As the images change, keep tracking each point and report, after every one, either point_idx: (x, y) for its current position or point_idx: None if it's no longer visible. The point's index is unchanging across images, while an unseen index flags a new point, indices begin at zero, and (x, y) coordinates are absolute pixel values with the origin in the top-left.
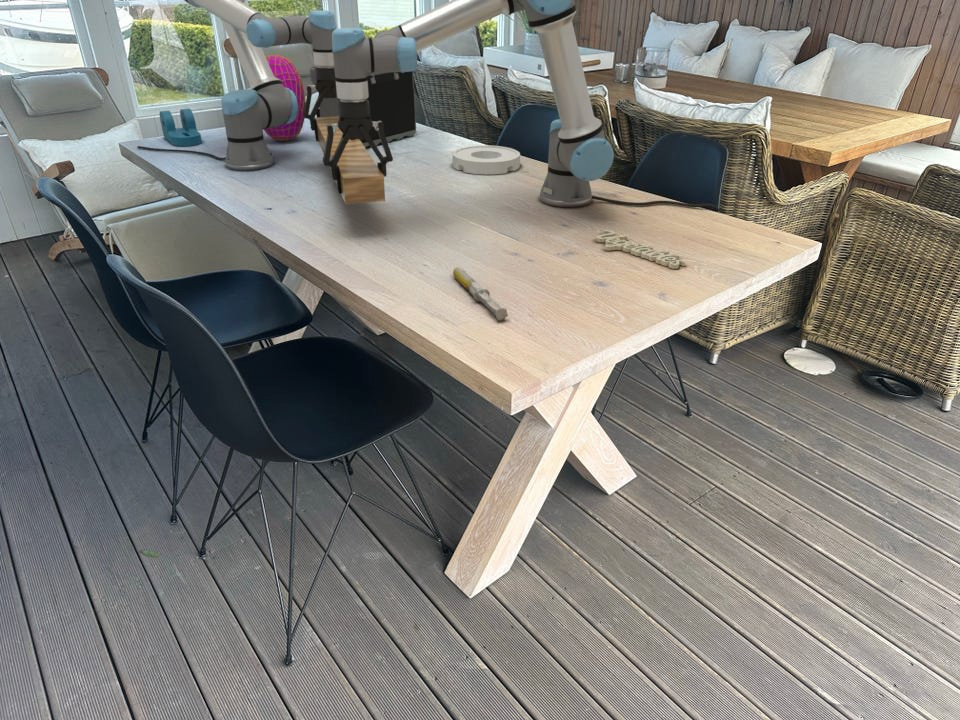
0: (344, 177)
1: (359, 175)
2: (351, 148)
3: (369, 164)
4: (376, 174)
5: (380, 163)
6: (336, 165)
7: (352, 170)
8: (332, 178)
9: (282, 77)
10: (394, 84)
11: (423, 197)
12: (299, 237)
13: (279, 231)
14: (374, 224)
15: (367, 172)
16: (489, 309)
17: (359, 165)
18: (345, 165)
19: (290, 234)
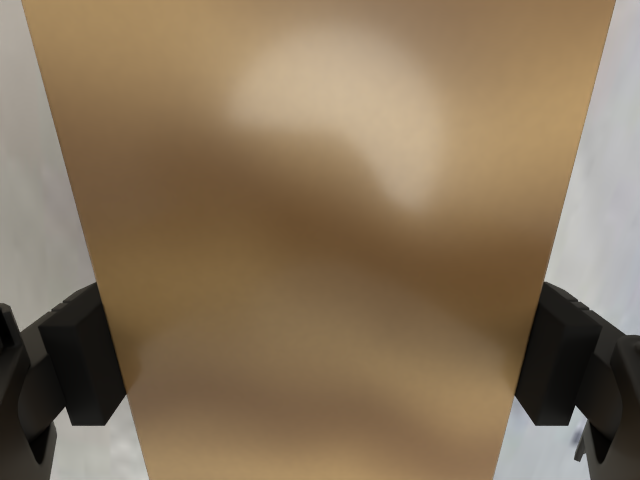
0: (592, 2)
1: (361, 63)
2: None
3: (202, 453)
4: (121, 52)
5: (63, 390)
6: (622, 354)
7: (398, 308)
8: (563, 291)
9: None
10: None
11: (85, 433)
12: (585, 149)
13: (629, 236)
14: None
15: (240, 188)
16: None
17: (297, 444)
18: (422, 466)
19: (604, 193)
